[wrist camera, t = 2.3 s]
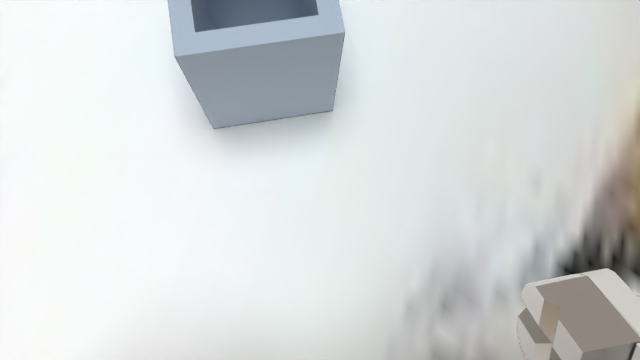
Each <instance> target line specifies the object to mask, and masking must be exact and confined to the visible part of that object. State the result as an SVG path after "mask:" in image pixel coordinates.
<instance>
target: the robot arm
mask: <svg viewBox="0 0 640 360" xmlns="http://www.w3.org/2000/svg"><path fill="white" fill-rule="evenodd" d="M521 300H522V301H523V303H524V304H525V306H526V308H525V309H524V311H523V312H522V313H521V314H520V315H519V316H518V323H517V333H518V338H519V344H520V346H521V349H522V351H523V354H524V356H525V358H526V359H527V360H640V298H639V297H638V296H637V295H636V294H635V293H634V292H633V291H632V290H631V289H630V288H629V287H628V286H627V285H626V284H625V282H624V281H623V280H622V279H621V278H620V277H619V276H618V275H617V274H616V273H615V272H614V271H612V270H610V269H608V268H606V269H601V270H595V271H590V272H585V273H580V274H572V275H567V276H562V277H557V278H552V279H547V280H542V281H536V282H531V283H527V284H526V285H525V287H524V288H523V291H522V296H521Z"/></svg>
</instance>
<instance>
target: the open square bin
mask: <svg viewBox="0 0 640 360" xmlns="http://www.w3.org/2000/svg"><path fill="white" fill-rule="evenodd" d="M168 8H169V16H170V24H171V32H172V40H173V48H174V56H175V58H176V60H177V62H178V64H179V66H180V68H181V69H182V71H183V73H184V75H185V77H186V79H187V81H188V82H189V84H190V86H191V88H192V90H193V92H194V93H195V95H196V97H197V99H198V101H199V103H200V104H201V106H202V108H203V110H204V112H205V114H206V116H207V117H208V119H209V121H210V123H211V125H212V127H213V128H214V129H216V128H222V127H229V126H235V125H242V124H248V123H255V122H261V121H268V120H274V119H281V118H287V117H294V116H300V115H307V114H314V113H320V112H327V111H332V110H333V104H334V98H335V92H336V85H337V79H338V73H339V67H340V61H341V54H342V48H343V42H344V36H345V29H344V24H343V19H342V14H341V9H340V4H339V0H168Z"/></svg>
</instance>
